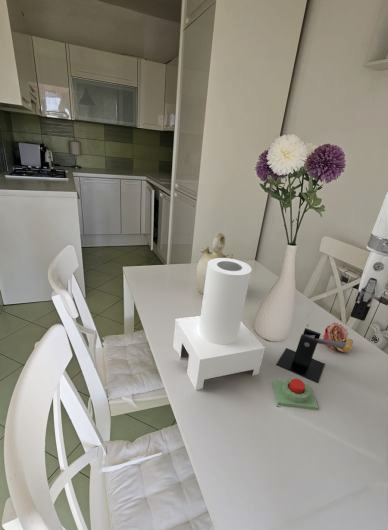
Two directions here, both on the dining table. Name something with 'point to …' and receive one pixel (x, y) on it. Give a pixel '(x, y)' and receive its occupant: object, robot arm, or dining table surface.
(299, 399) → the button block
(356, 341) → the dining table surface
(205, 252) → the jug
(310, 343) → the bracket
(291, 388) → the button
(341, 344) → the lever
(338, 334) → the flower
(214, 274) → the paper towel holder
